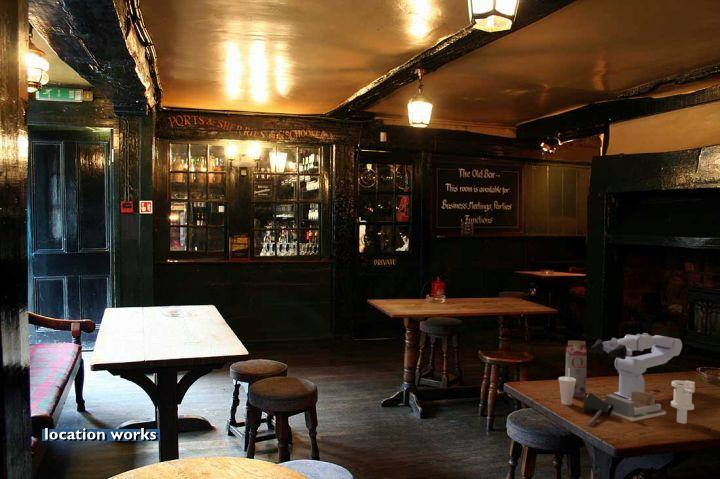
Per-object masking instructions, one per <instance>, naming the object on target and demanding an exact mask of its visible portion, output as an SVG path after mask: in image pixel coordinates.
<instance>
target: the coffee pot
mask: <svg viewBox="0 0 720 479" xmlns="http://www.w3.org/2000/svg"><path fill="white" fill-rule="evenodd" d="M584 398H585V399H584V401H583V405H582V409H583V411H584V413H588V414H594V416H593V417H592V418H591V419H590V420H589V419H587V420H586V421H585V423H586V426H587V425H588V426H589V427H593V426H595V425H596V423H597V422H598V419H599V417H600V416H605V417H607V418H610V417H611V416H612V415H613V414H612V411H613V405H609V404H607V403H606V402H605V401H604V400H603V399H601V398H600V397H599V396H597V395H596V394H594V393H593V392H589V393H587V395H586V397H584ZM588 421H589V423H588Z"/></svg>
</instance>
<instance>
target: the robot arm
mask: <svg viewBox="0 0 720 479" xmlns="http://www.w3.org/2000/svg"><path fill="white" fill-rule="evenodd" d="M682 348H683V343H682V340H681V339H680V338H674V337H670V336H663V335H659V334H658V335H657V334H655V335H650V334H649V333H646V332H643V333H642V334H640V333H637V334H636V335H633V334H626V335H625V336H624V337H623V338H615V337H612V338H611V340H608V341H603V340H602V339H596V342H595V343H594V344H593V345H592V346H591V347H590V353H593V354H601V355H603V354H604V352H606V353H607V354H608V357H609V358H615V360H614V368H615V369H616V370H617V373H618V375H619V376H618V377H619V378H618V391H615V392H613V395H615V396H618V397H621V398H624V399H631V394H632V392H636V391H643V392H645V379H644V375H642V374H643V373H645V372H647V368H651V367H655V366H659V365H664V364H666V363H668V362H669V361H670V360H671V359H672V358H673V357H677V356H679V355H680V353H681V351H682V350H683V349H682ZM645 349H646V350H647V349H651V350H650V352H651V353H650V352H649V353H645V354H642V355H637V356H633V351H640V352H643V351H644V350H645Z"/></svg>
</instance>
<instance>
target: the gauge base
mask: <svg viewBox="0 0 720 479" xmlns="http://www.w3.org/2000/svg"><path fill="white" fill-rule="evenodd" d="M604 402H606V403H607V404H609V405H613V411H612V414H611V415H615V416H618V417H619V418H622V419H625V420H628V421H630V422H635V421H640V420H641V421H642V420H645V419H649V418H655V417H660V416H664V415H666V414H667V411H665V410H662V403H661V404H660V403H655V404H656V405H659V406H658V407H657V406H654V405H649V406H644V407H639V408H637V407H635V402H633V401H631V399H628V398H625V397H622V396H619V395H616V394H614V393H613V394H612V393H610V394H609V393H608V394H605V401H604Z"/></svg>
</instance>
